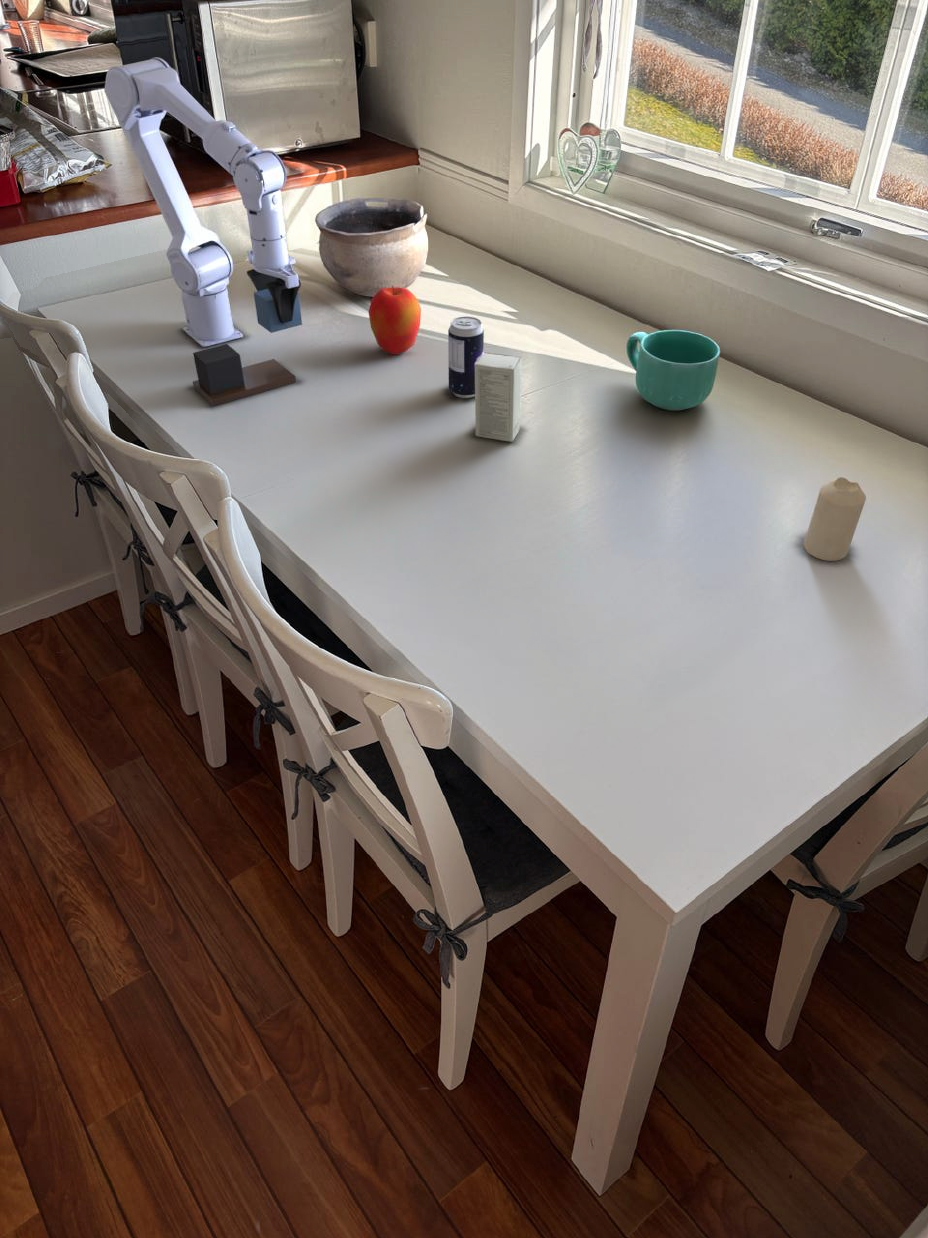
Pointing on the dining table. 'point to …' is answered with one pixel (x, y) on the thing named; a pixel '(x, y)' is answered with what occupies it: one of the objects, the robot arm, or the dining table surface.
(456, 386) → the beverage can
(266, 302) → the slate block
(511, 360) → the cosmetic box
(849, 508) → the candle
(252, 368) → the board
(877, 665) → the dining table surface
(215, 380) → the dark grey cube
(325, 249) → the ceramic bowl
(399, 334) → the apple
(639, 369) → the mug
